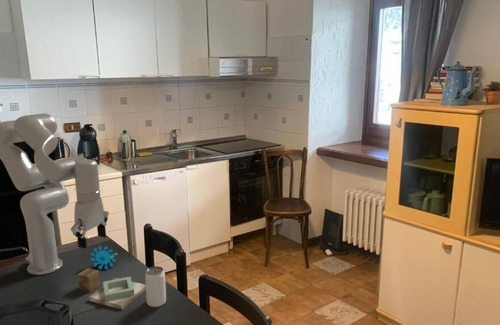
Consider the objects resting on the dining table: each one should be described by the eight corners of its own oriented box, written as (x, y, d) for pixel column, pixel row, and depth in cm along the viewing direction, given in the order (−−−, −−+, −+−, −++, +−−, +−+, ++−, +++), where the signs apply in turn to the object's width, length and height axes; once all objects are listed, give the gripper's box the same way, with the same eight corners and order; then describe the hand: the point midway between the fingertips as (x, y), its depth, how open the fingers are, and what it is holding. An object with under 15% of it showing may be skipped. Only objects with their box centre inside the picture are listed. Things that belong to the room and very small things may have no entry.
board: (88, 300, 142) (88, 296, 141) (116, 281, 154) (115, 277, 154) (122, 309, 137) (121, 305, 136) (147, 288, 149) (147, 285, 149)
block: (79, 289, 149) (77, 274, 147) (89, 282, 153) (87, 268, 152) (90, 292, 147) (88, 277, 145) (100, 285, 151) (98, 270, 150)
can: (145, 299, 143) (143, 267, 140) (164, 295, 145) (162, 264, 142) (148, 309, 137) (146, 276, 134) (168, 305, 139) (166, 272, 136)
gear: (94, 270, 158) (88, 247, 163) (89, 277, 162) (83, 253, 166) (121, 265, 166) (115, 243, 170) (116, 271, 170) (110, 249, 174)
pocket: (105, 300, 139) (105, 295, 138) (103, 286, 147) (102, 281, 147) (134, 294, 143) (134, 289, 142) (130, 281, 151) (130, 276, 151)
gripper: (97, 187, 151) (100, 231, 155) (60, 202, 135) (65, 250, 139) (114, 190, 148) (117, 234, 152) (78, 205, 132) (83, 254, 136)
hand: (92, 241), depth 146 cm, fingers open, 9 cm apart
